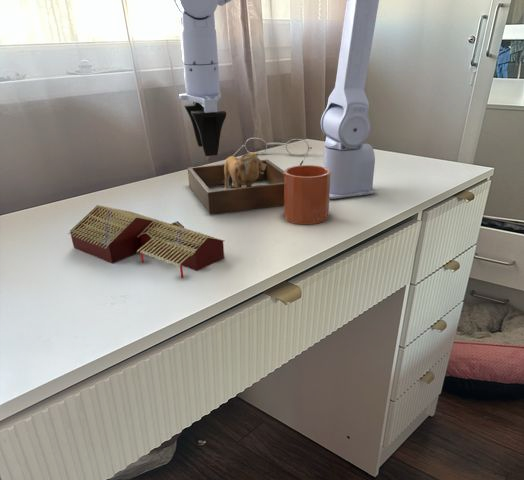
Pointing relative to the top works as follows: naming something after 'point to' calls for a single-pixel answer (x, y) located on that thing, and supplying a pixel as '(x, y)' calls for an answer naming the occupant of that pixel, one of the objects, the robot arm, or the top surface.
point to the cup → (306, 194)
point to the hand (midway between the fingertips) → (207, 150)
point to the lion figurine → (243, 170)
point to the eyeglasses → (278, 144)
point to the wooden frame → (236, 189)
